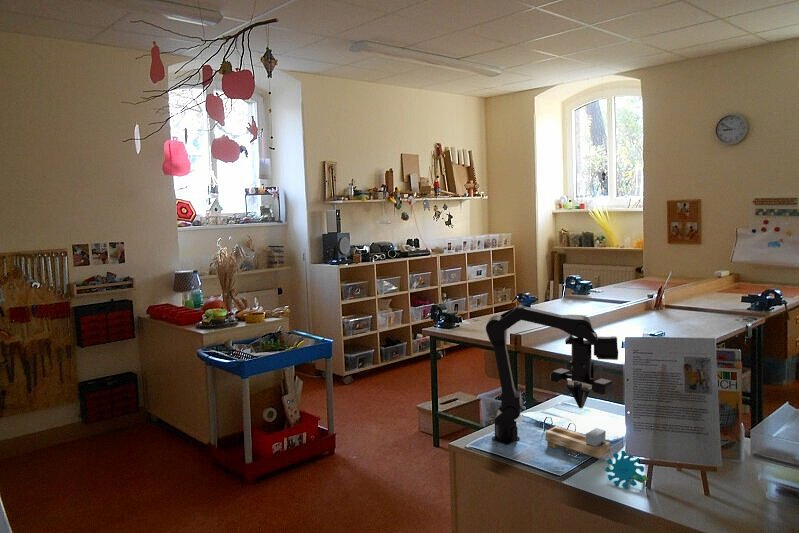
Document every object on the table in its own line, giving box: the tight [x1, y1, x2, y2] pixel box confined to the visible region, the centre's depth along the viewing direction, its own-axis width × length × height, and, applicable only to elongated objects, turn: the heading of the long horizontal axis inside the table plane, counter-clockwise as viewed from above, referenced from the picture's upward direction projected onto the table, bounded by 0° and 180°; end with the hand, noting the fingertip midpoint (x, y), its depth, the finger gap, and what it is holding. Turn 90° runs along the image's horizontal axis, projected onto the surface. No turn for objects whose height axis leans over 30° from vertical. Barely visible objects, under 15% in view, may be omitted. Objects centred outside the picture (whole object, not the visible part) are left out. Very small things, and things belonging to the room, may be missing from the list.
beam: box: [544, 425, 611, 459], centre depth 180 cm, size 18×6×5 cm, turn 43°
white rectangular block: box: [585, 427, 606, 446], centre depth 175 cm, size 3×6×4 cm, turn 133°
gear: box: [604, 450, 648, 489], centre depth 162 cm, size 11×6×10 cm
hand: (581, 407), depth 183 cm, fingers closed
